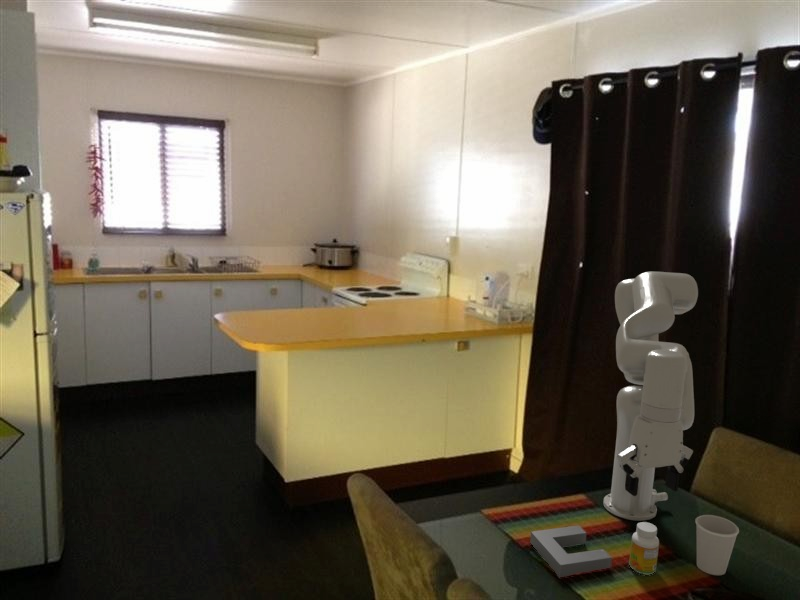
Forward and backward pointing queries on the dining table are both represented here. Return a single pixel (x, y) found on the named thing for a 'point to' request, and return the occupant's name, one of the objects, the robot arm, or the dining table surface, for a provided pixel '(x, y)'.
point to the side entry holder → (562, 562)
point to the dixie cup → (714, 543)
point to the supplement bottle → (644, 548)
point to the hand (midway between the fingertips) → (651, 490)
